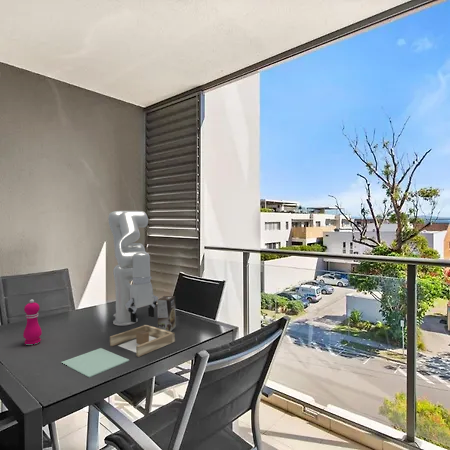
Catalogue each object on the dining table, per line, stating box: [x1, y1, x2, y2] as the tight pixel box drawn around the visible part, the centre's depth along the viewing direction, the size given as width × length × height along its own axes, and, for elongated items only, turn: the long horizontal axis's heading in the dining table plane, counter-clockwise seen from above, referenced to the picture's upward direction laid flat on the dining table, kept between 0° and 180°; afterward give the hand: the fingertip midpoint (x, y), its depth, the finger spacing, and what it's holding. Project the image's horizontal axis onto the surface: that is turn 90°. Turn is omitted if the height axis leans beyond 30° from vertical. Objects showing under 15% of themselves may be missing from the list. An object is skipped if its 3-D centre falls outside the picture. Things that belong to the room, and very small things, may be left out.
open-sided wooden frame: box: [109, 324, 176, 358], centre depth 149 cm, size 20×20×4 cm
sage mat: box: [60, 347, 130, 378], centre depth 131 cm, size 20×17×1 cm
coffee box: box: [156, 295, 176, 332], centre depth 167 cm, size 9×6×16 cm
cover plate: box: [117, 330, 156, 354], centre depth 149 cm, size 14×16×6 cm
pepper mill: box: [22, 299, 43, 345], centre depth 151 cm, size 7×7×20 cm
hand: (142, 319), depth 148 cm, fingers open, 9 cm apart
